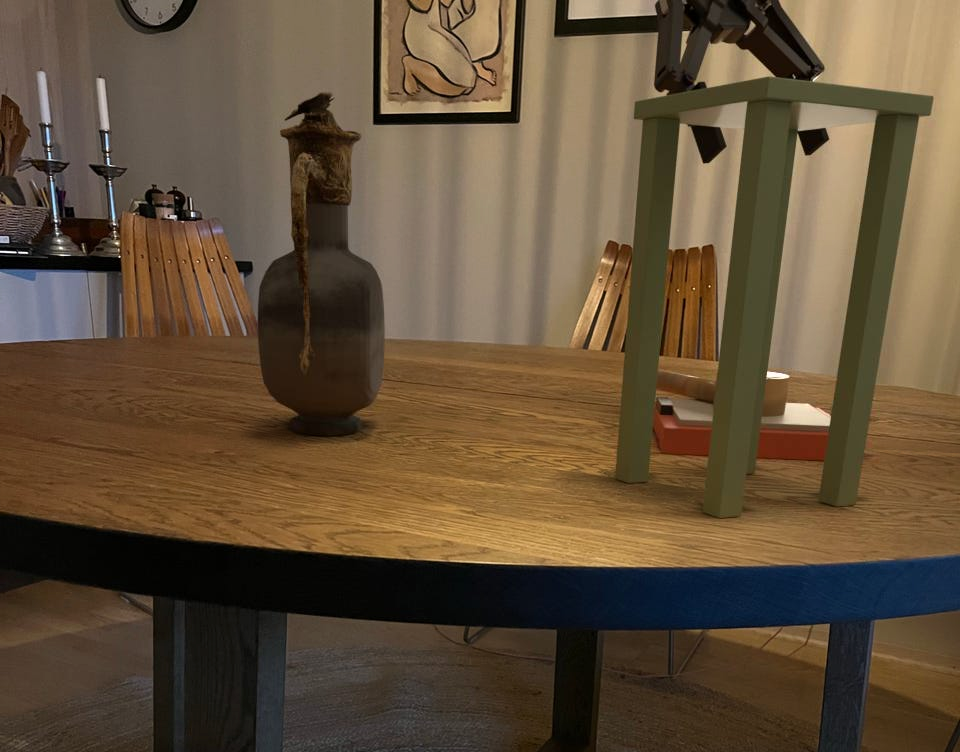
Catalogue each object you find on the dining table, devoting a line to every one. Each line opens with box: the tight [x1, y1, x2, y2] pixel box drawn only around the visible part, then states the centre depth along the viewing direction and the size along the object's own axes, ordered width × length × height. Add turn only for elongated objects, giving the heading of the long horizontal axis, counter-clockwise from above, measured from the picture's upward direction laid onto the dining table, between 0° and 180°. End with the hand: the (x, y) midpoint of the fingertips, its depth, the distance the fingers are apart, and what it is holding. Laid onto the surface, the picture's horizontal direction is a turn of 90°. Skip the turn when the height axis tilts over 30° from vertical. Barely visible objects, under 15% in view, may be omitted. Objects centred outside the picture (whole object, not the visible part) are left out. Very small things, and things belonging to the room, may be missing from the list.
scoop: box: [656, 369, 790, 417], centre depth 108 cm, size 20×7×4 cm, turn 24°
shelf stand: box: [614, 75, 934, 519], centre depth 77 cm, size 15×14×28 cm
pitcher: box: [257, 91, 386, 437], centre depth 96 cm, size 11×19×30 cm, turn 178°
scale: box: [653, 396, 831, 462], centre depth 104 cm, size 18×18×3 cm
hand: (767, 151), depth 100 cm, fingers open, 13 cm apart
